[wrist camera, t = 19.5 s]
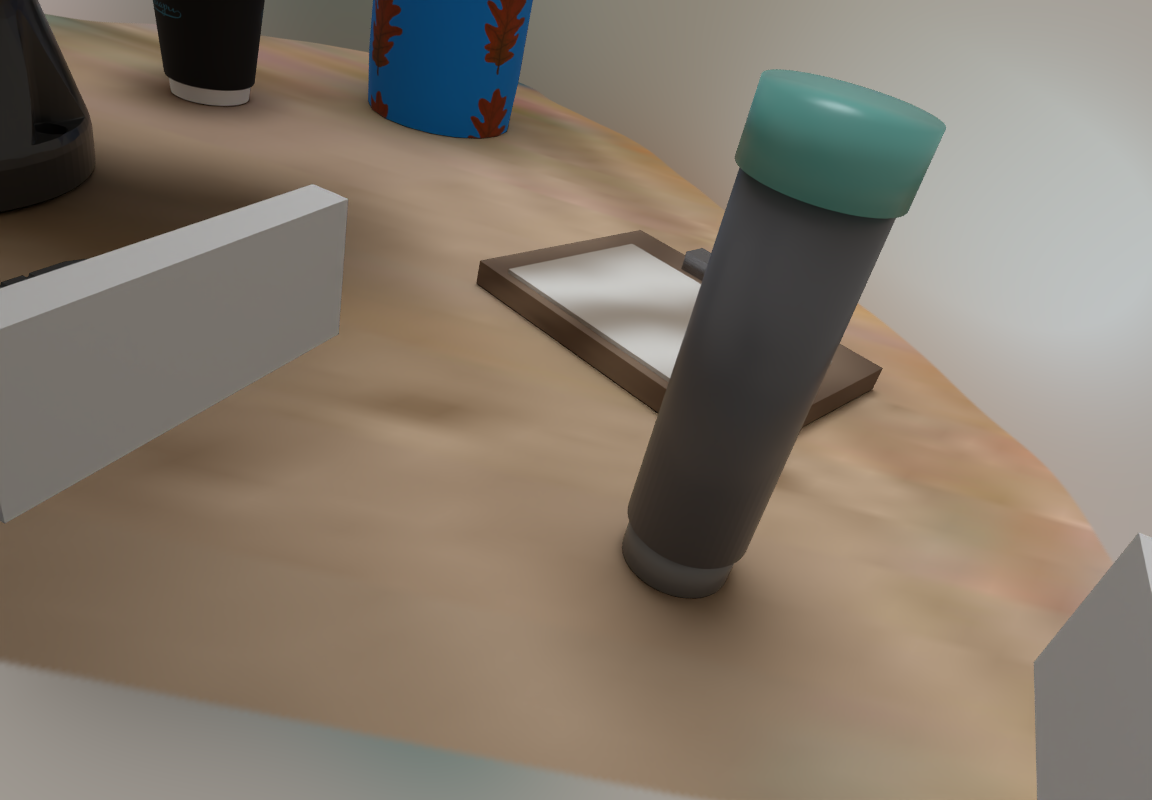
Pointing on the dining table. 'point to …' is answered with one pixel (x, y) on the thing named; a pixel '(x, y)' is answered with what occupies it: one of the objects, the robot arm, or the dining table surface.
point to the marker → (770, 315)
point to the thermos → (447, 63)
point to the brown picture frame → (633, 311)
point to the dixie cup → (210, 48)
